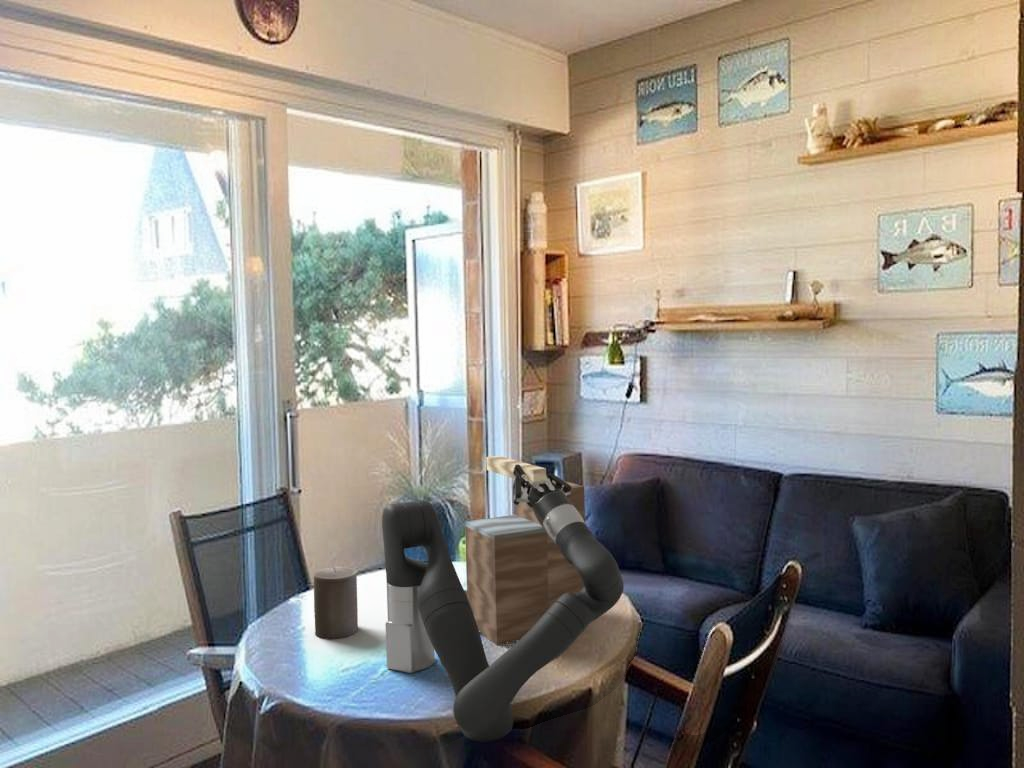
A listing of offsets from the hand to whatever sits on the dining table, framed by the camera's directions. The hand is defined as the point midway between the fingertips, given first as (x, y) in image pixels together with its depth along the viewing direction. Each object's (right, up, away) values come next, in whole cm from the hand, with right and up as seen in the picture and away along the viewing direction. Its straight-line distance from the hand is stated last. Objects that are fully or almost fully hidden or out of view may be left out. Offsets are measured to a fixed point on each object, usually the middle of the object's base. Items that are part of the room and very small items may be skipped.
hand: (523, 467), depth 173 cm
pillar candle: (-42, -39, +12) cm, 59 cm away
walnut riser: (+1, -38, +13) cm, 40 cm away
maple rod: (-2, -2, +4) cm, 5 cm away
